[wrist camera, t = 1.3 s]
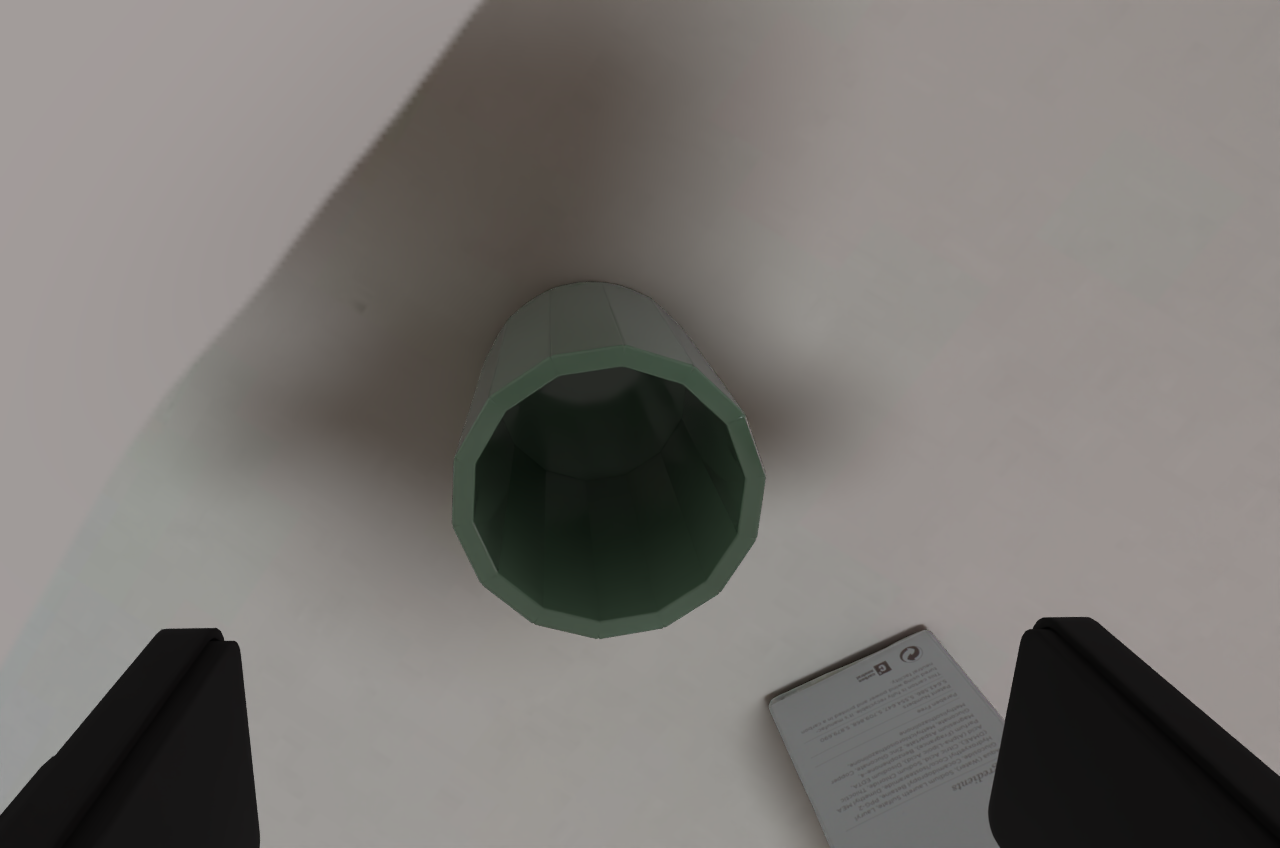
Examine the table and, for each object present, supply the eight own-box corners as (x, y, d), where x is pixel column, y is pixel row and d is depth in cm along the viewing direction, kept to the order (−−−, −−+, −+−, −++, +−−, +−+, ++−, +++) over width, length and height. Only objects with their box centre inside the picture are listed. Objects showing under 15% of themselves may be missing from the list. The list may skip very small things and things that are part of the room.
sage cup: (463, 298, 22) (418, 375, 15) (685, 266, 23) (752, 325, 15) (503, 500, 24) (481, 660, 17) (708, 467, 25) (778, 609, 17)
